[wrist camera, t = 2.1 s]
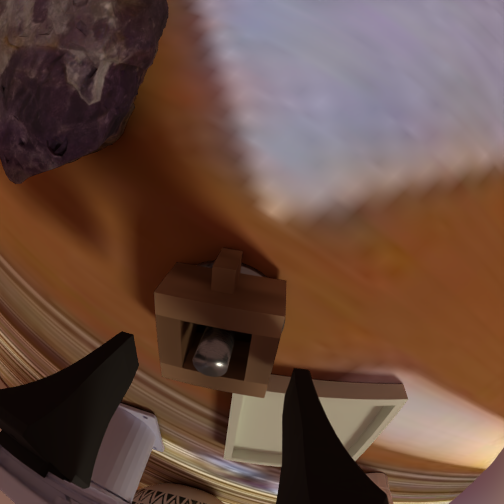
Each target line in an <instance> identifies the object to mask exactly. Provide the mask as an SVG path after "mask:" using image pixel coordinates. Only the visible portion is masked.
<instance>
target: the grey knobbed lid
mask: <svg viewBox="0 0 504 504" xmlns="http://www.w3.org/2000/svg"><path fill="white" fill-rule="evenodd" d="M215 261H216V260H213V261H207V262H204V263H201V264H198V265H196V266H202V267H208V268H212V267H213V264H214V263H215ZM240 273H242V274H248V275H254V276H260V277H266V276H265V275H264V274H263V273H261V272H260V271H258V270H257V269H255V268H253V267H251V266H249V265H246V264H243V263H241V272H240ZM266 278H268V277H266ZM284 323H285V320H284ZM283 327H284V324H283ZM282 330H283V328H282ZM197 332H198V333H203V335H202V337H201V340H200V342H199V345H198V347H197V350H196V352H195V355H194V357H193V365H194V367H195V368H196V369H197V370H198V371H199V372H200V373H202V374H204V375H207V376H211V377H218V376H222V375H224V374H225V373H226V372H227V369H228V365H229V362H230V358H231V354H232V350H233V346H234V342H235V340H239V341H244V342H250V343H251V338H252V334H248V333H243V332H237V331H232V330H226V329H221V328H216V327H211V326H206V325H201V324H197ZM281 333H282V332H281Z"/></svg>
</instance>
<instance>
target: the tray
mask: <svg viewBox="0 0 504 504" xmlns="http://www.w3.org/2000/svg"><path fill="white" fill-rule="evenodd" d="M290 379H291V377H287V376H279V375H272V374H271V375H270V379H269V383H268V386H267V390H266V394H265V397H264V398H259V397H253V396H247V395H241V394H235V393H233V394H232V401H231V408H230V416H229V423H228V430H227V437H226V444H225V452H224V459H226V460H231V461H237V462H244V463H251V464H258V465H266V466H276V467H282V413H283V404H284V396H285V393H286V390H287V388H288V385H289V382H290ZM312 381H313V384H314V387H315V389H316V392H317V395H318V397H319V400H320V402H321V404H322V407H323V409H324V411H325V413H326V415H327V418H328V420H329V422H330V423H331V425H332V427H333V429H334V431H335V433H336V434H337V436H338V438H339V439H340V441H341V443H342V444H343V446H344V447H345V449H346V450H347V451H348V453H349V454H350V456H351V457H352V458H353V459H354V461H356V460H357V459H358V458H359V457H360V456H361V455H362V453H363V452H364V451H365V450H366V449H367V448H368V447H369V446H370V445H371V444H372V443H373V442H374V440H375V439H376V438H377V437H378V436H379V435H380V434H381V433H382V431H383V430H384V429H385V428H386V427H387V425H388V424H389V423H390V422H391V421H392V419H393V418H394V417H395V416H396V414H397V413H398V412H399V411H400V409H401V408H402V407H403V405H404V404H405V403H406V401H407V400H408V397H407V394H406V391H405V388H404V385H403V384H372V383H351V382H336V381H324V380H313V379H312Z"/></svg>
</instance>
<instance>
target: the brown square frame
mask: <svg viewBox="0 0 504 504" xmlns="http://www.w3.org/2000/svg"><path fill="white" fill-rule="evenodd" d="M242 255H243V251H239V250H233V249H227V248H222V250H221V251H220V253H219V255H218V257H217V259H216V261H215V263H214V264H213V267H212V268H208V267H202V266H196V265H191V264H185V263H180V262H177V263H176V264H175V265H174V267H173V268H172V269H171V270H170V272H169V273H168V274H167V276H166V277H165V278H164V279H163V281H162V282H161V283H160V285H159V286H158V287H157V289H156V290H155V291H154V302H155V316H156V327H157V338H158V348H159V357H160V365H161V373H162V377H165V378H168V379H172V380H176V381H180V382H184V383H188V384H192V385H196V386H201V387H205V388H210V389H215V390H219V391H224V392H230V393H235V394H241V395H247V396H253V397H259V398H264V397H265V394H266V390H267V386H268V383H269V379H270V375H271V372H272V368H273V364H274V360H275V356H276V352H277V348H278V344H279V340H280V336H281V332H282V328H283V324H284V320H285V310H286V281H285V280H279V279H272V278H266V277H260V276H254V275H248V274H242V273H240V272H241V263H242ZM197 324H201V325H206V326H211V327H216V328H221V329H226V330H232V331H237V332H243V333H248V334H252V338H251V343H250V342H244V341H239V340H235V342H234V346H233V350H232V354H231V358H230V362H229V365H228V369H227V372H226V373H225V374H224V375H222V376H218V377H211V376H207V375H204V374H202V373H200V372H199V371H198V370H197V369H196V368H195V367H194V365H193V357H194V355H195V352H196V350H197V347H198V345H199V342H200V340H201V337H202V335H203V333H198V332H197Z"/></svg>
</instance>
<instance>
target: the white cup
mask: <svg viewBox="0 0 504 504" xmlns="http://www.w3.org/2000/svg"><path fill="white" fill-rule="evenodd" d="M366 475H367V476H368V477H369V478H370V479H371V480H372V481H373V482H374V483H375V484H376V485H377V486H378V487H379V488H380V489H381V490H383V491H384V492H385V493H386V494H387V497H388V501H389V504H393V501H392V495H391V492H390V490H389V483H388V478H387V476H386V475H385V474H384V473H367V474H366Z"/></svg>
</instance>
